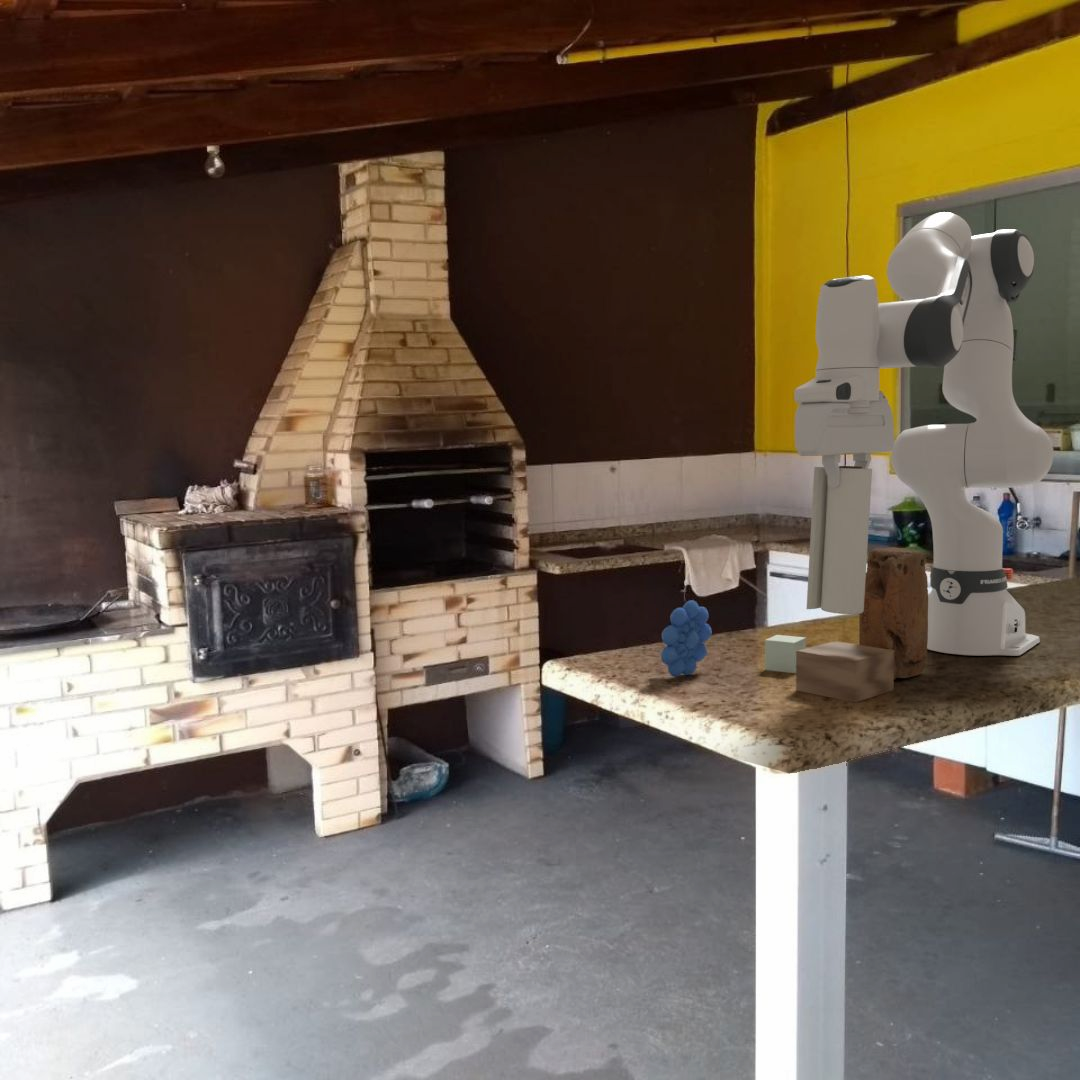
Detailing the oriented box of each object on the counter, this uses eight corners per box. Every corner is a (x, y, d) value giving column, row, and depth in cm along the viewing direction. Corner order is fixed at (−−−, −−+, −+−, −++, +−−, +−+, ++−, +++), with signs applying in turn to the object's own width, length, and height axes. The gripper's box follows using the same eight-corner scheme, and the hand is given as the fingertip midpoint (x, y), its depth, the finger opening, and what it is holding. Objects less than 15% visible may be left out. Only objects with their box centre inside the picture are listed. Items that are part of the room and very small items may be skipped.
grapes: (688, 665, 174) (687, 594, 173) (721, 671, 170) (721, 598, 168) (642, 677, 166) (641, 603, 165) (675, 684, 162) (675, 607, 160)
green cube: (776, 664, 174) (776, 634, 174) (806, 667, 172) (806, 637, 171) (765, 670, 170) (765, 639, 170) (794, 673, 167) (794, 642, 167)
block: (889, 666, 170) (890, 544, 168) (932, 674, 165) (934, 547, 163) (851, 677, 163) (852, 550, 161) (895, 686, 158) (897, 553, 156)
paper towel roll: (870, 612, 155) (879, 467, 152) (852, 617, 150) (861, 467, 148) (824, 605, 159) (832, 464, 157) (806, 610, 155) (814, 465, 152)
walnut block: (835, 679, 163) (835, 641, 162) (893, 690, 155) (893, 650, 154) (796, 690, 156) (796, 650, 156) (855, 702, 149) (855, 660, 148)
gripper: (868, 391, 160) (867, 482, 162) (786, 390, 147) (786, 488, 149) (905, 389, 156) (904, 482, 157) (825, 388, 142) (824, 490, 144)
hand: (846, 485), depth 153 cm, fingers closed on paper towel roll, 4 cm apart
